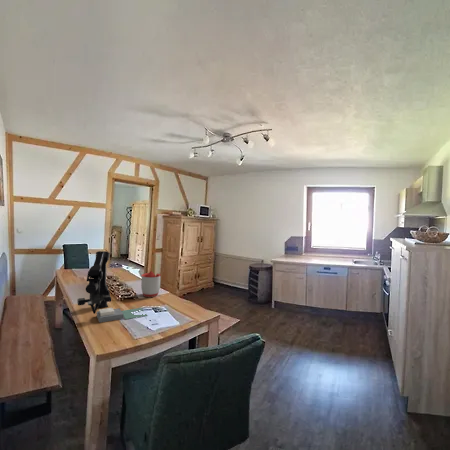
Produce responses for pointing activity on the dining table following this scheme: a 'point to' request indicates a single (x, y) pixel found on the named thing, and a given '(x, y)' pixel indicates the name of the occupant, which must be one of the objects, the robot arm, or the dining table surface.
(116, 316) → the plate
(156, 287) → the citrus juicer
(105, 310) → the tile
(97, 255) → the robot arm
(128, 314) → the mat
